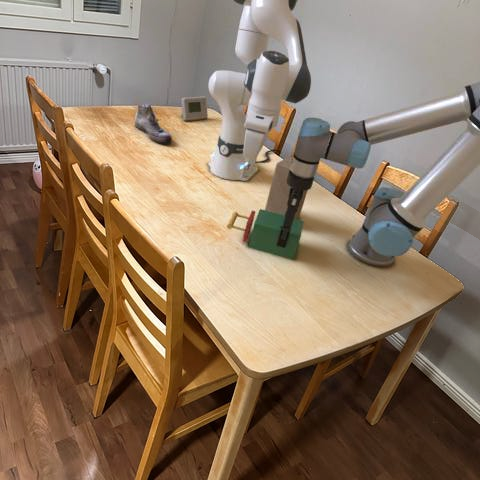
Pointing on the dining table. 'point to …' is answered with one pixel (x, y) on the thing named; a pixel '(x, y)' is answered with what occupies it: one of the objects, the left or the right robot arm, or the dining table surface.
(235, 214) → the drawer
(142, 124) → the shoe
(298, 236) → the cabinet
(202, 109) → the digital clock
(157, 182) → the dining table surface
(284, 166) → the wooden block
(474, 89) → the right robot arm
